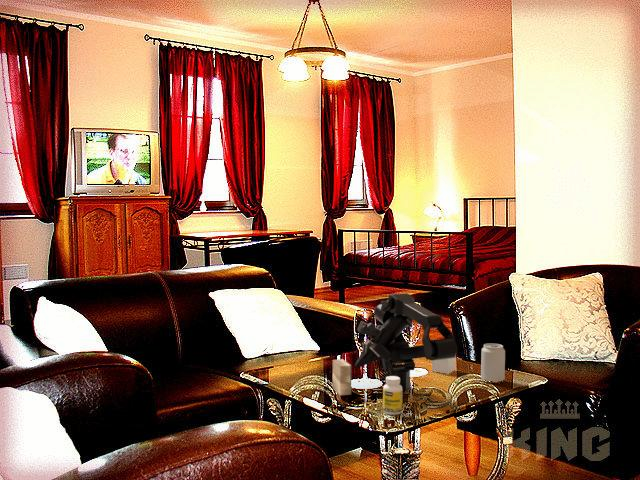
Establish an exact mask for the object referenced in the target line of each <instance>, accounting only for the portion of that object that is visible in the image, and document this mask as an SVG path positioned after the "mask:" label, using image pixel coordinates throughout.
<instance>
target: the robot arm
mask: <svg viewBox="0 0 640 480" xmlns="http://www.w3.org/2000/svg"><path fill="white" fill-rule="evenodd" d="M374 314H375V316H374V317H375V319H376V320H378V321H379V322H380V323H381V324H382V325H381V324H378V325H377V326H376V324H374V323H372V322H369V323H367V322H365V321H362V320H361V321H360V323H359V324H358V327H357V329H356V331H357V332H359V333H360V334H366V335H368V336H369V337H370V338H371V339H372V340H371V341H370V340H369V339H367V341H366V342H365V343H364V342H363V341H361V345H362V350H361V352H360V354H359V357H358V358H357V360H356V362H355V363H354V366H355V367H356V368H357V369H359V368H361V367H364V366H366V365H369V364H371V363H374V362H377V361H381V363H382V369H383V370H384V372H386V374H385V378H386V377H388V376H397V377H399V378H400V384H399V385H401V386H402V394H405V393H407V392H408V391H410V390H411V389H413V388H412V386H411V383H410V382H411V381H410V380H411V378H410V377H411V371H414V370H415V368H416V367H415V366H416V363H415V361H414V359H421V358H422V359H423V358H425V359H426V360H428V361H432V360H442V359H451V358H455V356H457V352H458V344H457V342H456V338H455V337H454V336H455V335H454V333H453V332H452V331H451V330H450V329H449V327H447V325H446V324H445V323H444V320H443V318H442V316H441V315H440V314H436V313H433V312H432V311H430V310H429V309H427V308H425V307H423V306H422V305H419V304H418V303H416V302H415V298H414V297H413V296H412V295H411V294H410V293H409V292H408V293H407V292H402V293H391V294H389V295H388V298H387V299H386V300H380V303H379V304H378V305H377V306H376V307H375V309H374V310H373V315H374ZM413 321H414V322H415V323H417V324H419V325H421V327H422V330H423V333H422V337H421V342H422V344H420V345H413V346H410V345H409V344H410V343H409V341H405V342H404V341H402V342H397V340H398V339H397V337H398V336H400V334H402V332H403V331H404V330H405V329H406V328H407V327H409V328H413ZM435 329H436V330H437V332H438V333H439V334H440V335H441V336H442V337H443V338H436V339H431V337H430V333H431V330H435ZM386 384H387V383H386V382H385V385H386Z"/></svg>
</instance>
